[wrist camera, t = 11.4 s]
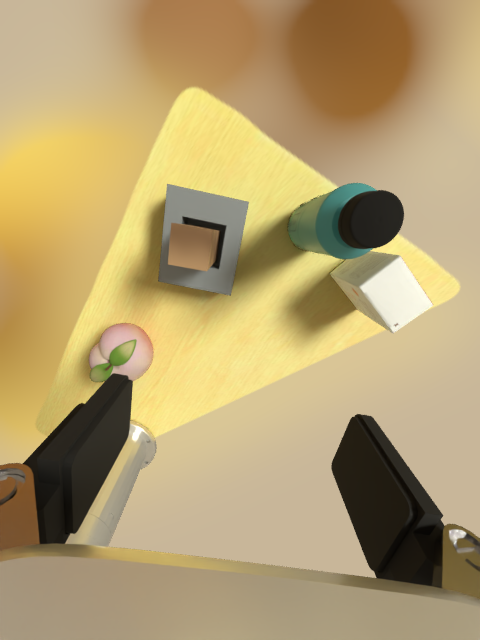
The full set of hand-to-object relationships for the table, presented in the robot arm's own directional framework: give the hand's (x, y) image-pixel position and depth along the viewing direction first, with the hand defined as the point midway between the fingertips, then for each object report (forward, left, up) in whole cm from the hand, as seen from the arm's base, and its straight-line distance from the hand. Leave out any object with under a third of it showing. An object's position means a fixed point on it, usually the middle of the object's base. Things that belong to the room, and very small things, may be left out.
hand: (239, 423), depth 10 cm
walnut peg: (+5, +6, -29) cm, 30 cm away
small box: (+4, -18, -31) cm, 36 cm away
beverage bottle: (+10, -8, -31) cm, 33 cm away
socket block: (+5, +6, -30) cm, 31 cm away
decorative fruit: (-13, +15, -31) cm, 36 cm away
